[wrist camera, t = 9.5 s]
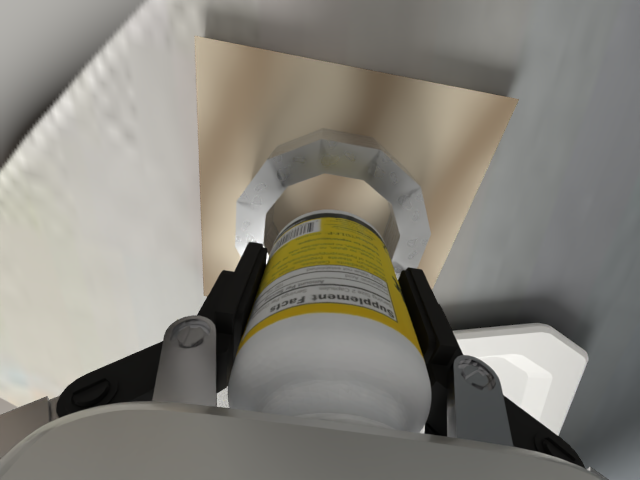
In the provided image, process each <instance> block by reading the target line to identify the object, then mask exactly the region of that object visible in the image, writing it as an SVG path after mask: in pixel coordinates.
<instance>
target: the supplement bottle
mask: <svg viewBox="0 0 640 480" xmlns="http://www.w3.org/2000/svg"><path fill="white" fill-rule="evenodd" d="M228 402H229V407H230V408H231V409H239V410H247V411H255V412H263V413H271V414H279V415H287V416H295V417H303V418H310V419H318V420H326V421H333V422H341V423H349V424H356V425H364V426H371V427H379V428H386V429H394V430H401V431H409V432H416V433H420V431H421V430H422V428H423V427H424V425H425V423H426V421H427V418H428V415H429V411H430V407H431V385H430V380H429V376H428V372H427V368H426V364H425V361H424V358H423V355H422V352H421V349H420V346H419V343H418V340H417V337H416V334H415V331H414V328H413V325H412V322H411V319H410V316H409V313H408V310H407V307H406V304H405V300H404V297H403V294H402V292H401V289H400V286H399V282H398V280H397V277H396V274H395V271H394V268H393V265H392V261H391V259H390V255H389V252H388V250H387V247H386V245H385V243H384V241H383V239H382V237H381V235H380V234H379V233H378V231H377V230H376V229H375V228H374V227H373V226H372V225H371V224H370V223H368V222H367V221H365V220H364V219H362V218H360V217H358V216H356V215H354V214H351V213H349V212H345V211H340V210H317V211H313V212H309V213H306V214H304V215H301V216H299V217H297V218H296V219H294V220H293V221H291V222H290V223H289V224H288V225H286V226H285V227H284V228H283V229H282V231H281V232H280V233H279V235H278V236H277V238H276V240H275V242H274V244H273V247H272V249H271V252H270V254H269V258H268V261H267V264H266V267H265V270H264V273H263V276H262V279H261V282H260V285H259V288H258V291H257V294H256V297H255V300H254V303H253V306H252V309H251V312H250V315H249V318H248V321H247V324H246V327H245V330H244V333H243V336H242V339H241V342H240V344H239V347H238V351H237V354H236V357H235V361H234V364H233V368H232V371H231V375H230V380H229V384H228Z"/></svg>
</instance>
